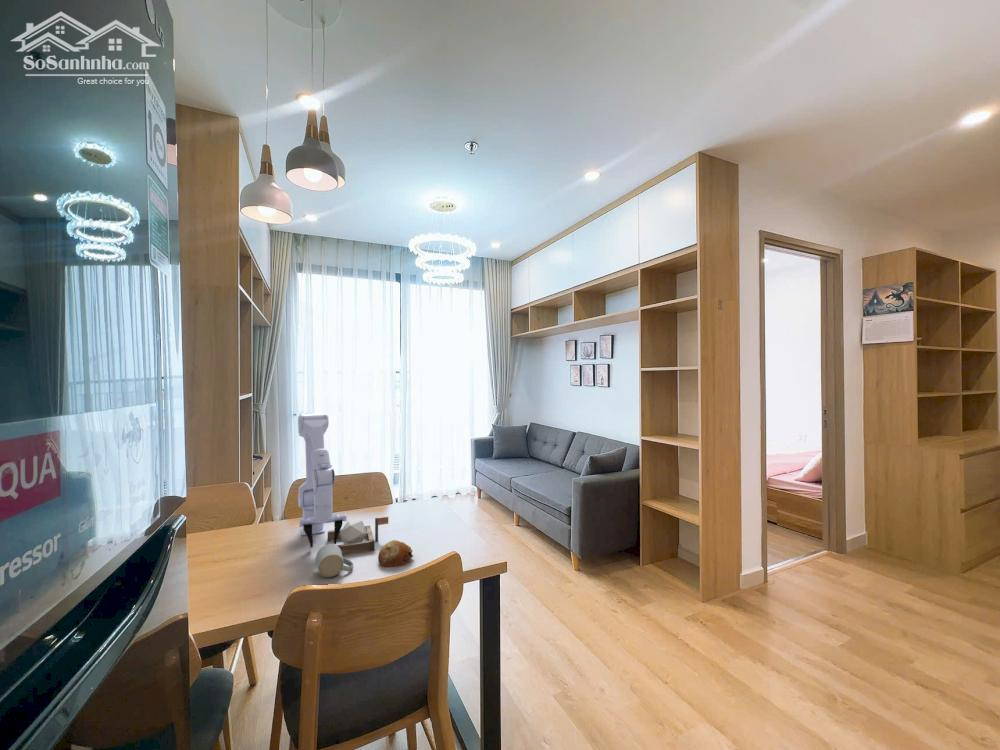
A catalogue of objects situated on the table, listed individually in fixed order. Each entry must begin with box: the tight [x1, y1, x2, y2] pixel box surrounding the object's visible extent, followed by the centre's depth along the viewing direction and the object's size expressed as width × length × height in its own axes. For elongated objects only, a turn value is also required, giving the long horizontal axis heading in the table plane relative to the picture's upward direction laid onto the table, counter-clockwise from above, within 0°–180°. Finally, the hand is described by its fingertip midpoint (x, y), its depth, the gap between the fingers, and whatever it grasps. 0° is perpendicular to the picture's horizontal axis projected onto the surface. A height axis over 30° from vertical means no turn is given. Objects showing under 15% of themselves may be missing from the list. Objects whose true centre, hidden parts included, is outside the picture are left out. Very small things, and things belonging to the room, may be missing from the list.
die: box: [339, 520, 367, 544], centre depth 144 cm, size 8×9×10 cm
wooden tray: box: [327, 516, 389, 557], centre depth 145 cm, size 16×20×8 cm
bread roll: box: [377, 539, 414, 569], centre depth 132 cm, size 10×10×8 cm
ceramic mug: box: [315, 543, 354, 579], centre depth 125 cm, size 10×8×7 cm
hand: (323, 544), depth 141 cm, fingers open, 7 cm apart
